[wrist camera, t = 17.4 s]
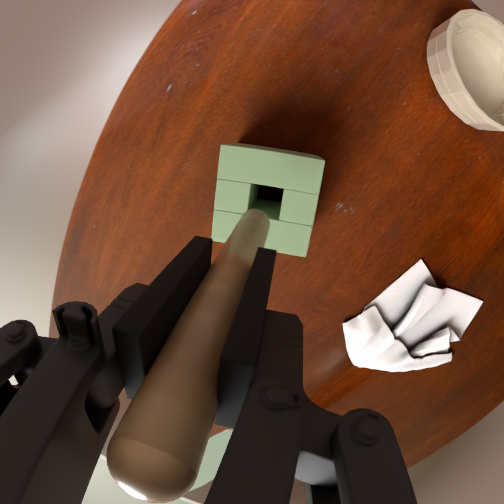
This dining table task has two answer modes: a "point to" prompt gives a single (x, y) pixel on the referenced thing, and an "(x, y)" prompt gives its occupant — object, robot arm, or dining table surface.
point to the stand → (280, 214)
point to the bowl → (470, 67)
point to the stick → (185, 380)
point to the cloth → (409, 324)
